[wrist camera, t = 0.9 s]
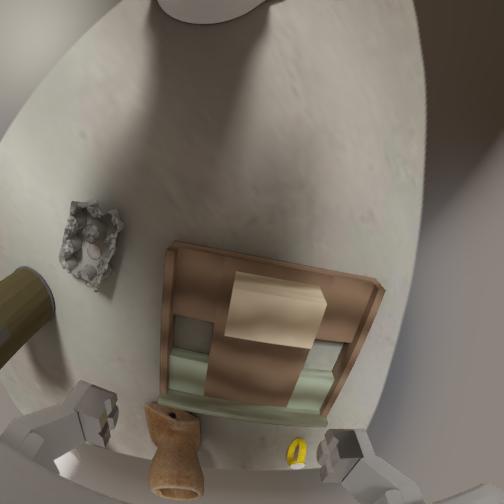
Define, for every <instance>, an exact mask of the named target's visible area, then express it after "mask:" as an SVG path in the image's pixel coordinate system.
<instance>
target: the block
mask: <svg viewBox="0 0 504 504" xmlns="http://www.w3.org/2000/svg"><path fill="white" fill-rule="evenodd" d="M326 306H327V303H326V300H325V298H324V296H323V293H322V291H321V289H320V286H316V285H310V284H304V283H299V282H293V281H287V280H282V279H276V278H271V277H265V276H260V275H254V274H249V273H244V272H238V271H236V274H235V279H234V285H233V290H232V296H231V301H230V306H229V312H228V317H227V323H226V329H225V335H224V336H229V337H234V338H240V339H246V340H252V341H258V342H265V343H271V344H278V345H285V346H292V347H300V348H308V349H311V348H312V346H313V343H314V340H315V337H316V335H317V332H318V329H319V326H320V324H321V321H322V318H323V315H324V312H325V309H326Z"/></svg>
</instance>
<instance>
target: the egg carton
mask: <svg viewBox="0 0 504 504" xmlns="http://www.w3.org/2000/svg"><path fill="white" fill-rule="evenodd" d="M85 207H86V208H87V211H88V212H89V213H91V215H92V217H93V218H95V219H97V218H100V217H102V216H105V215H106V214H111V215H112V219H111V221H112V223H113V225H114V226H117V231H115V232H114V233H112V234H110V235H109V236H108V237H107V238H106V239H105V240H104V244H106V245H107V247H108V249H109V251H111V253H110V254H109V255H108V256H107V257H105V258H103V259H102V260H101V261H100V264H99V265H98V266H97V267H98V271H99V273H98V275H97V272H96V269H95V268H94V267H93V266H92V265H86V266H84V267H83V268H81V267H79V266H78V261H77V259H76V258H75V257H74V256H73V253H74V252H76V251H77V250H79V249H80V248H81V246H82V242H81V239H80V237H79V236H78V235H77V230H79V229H81V228H83V227H84V226H85V225H86V216H85V214H84V213H83V212H82V208H85ZM123 226H124V223H123V222H122V221H121V219H120V217H119V211H118V210H115V209H111V210H109V211H107V212H105V213H102V211H101V210H99V208H98V202H97V201H95V200H90V201H87V202H75V201H72V202H71V208H70V216H69V219H68V223H67V225H66V227H65V233H64V237H63V244H62V247H61V251H60V254H59V261H60V263H61V265H62V267H63V269H65V270H66V271H67V272H68V273H72V274H74V275H75V276H76V278H83V279H85V280H87V282H88V283H87V285H88V286H90V287H91V288H94V289H95V292H98V291H97V290H98V289H99V287H98V286H99V284H100V281H101V280H105V279H107V278H108V277H109V275H110V274H111V272H112V268H111V267H110V265H109V264H108V263H109V260H110V259H111V257H112V256H114V255H115V254H116V251H117V245H116V244H115V243H116V238H117V235H118V232H120V231H122V229H123ZM106 230H107V229H106V225H105V224H104V223H103V222H102V221H95V222H93V223H91V224H88V225H87V226H86V227H85V228H84V230H83V232H82V235H83V236H84V238H85V240H86V241H87V242H89V244H90V245H89V247H88V249H87V251H88V254H89V256H90V257H91V258H92V259H98V258H100V256H101V250H100V247H99V246H98V245H97V244H94V243H95V242H96V241H97V240H99V239H100V238H102V237H103V236H104V235H105V234H106Z"/></svg>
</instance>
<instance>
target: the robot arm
mask: <svg viewBox="0 0 504 504" xmlns="http://www.w3.org/2000/svg"><path fill="white" fill-rule="evenodd" d="M157 1H158V3H159V5H160V7H161V8H162V9H163V10H164V11H165V12H166V13H167V14H168V15H170V16H171V17H173V18H175V19H178V20H180V21H184V22H188V23H194V24H212V23H219V22H224V21H228V20H231V19H234V18H237V17H240V16H242V15H244V14H246V13H248V12H249V11H251V10H253V9H254V8H255V7H257V6H258V5H259V4H261V3H262V2H264V1H266V0H157ZM117 400H118V399H117V394H116V393H114V392H112V391H109V390H106V389H103V388H101V387H98V386H96V385H93V384H90V383H88V382H85V381H83V380H81V381H79V382H78V383H77V385H76V386H75V387H74V389H73V390H72V392H71V393H70V394H69V396H68V397H67V398H66V400H65V401H64V403H63V404H62V405H61V404H56V405H54V406H51V407H48V408H45V409H42V410H39V411H37V412H34V413H31V414H28V415H25V416H22V417H19V418H15V419H13V420H12V421H11V423H10V424H9V425H8V426H7V428H6V429H5V430H4V432H3V433H2V434H1V436H0V504H131V503H128V502H125V501H122V500H119V499H116V498H113V497H110V496H107V495H105V494H102V493H100V492H97V491H94V490H92V489H90V488H87V487H85V486H82V485H80V484H78V483H76V482H73V481H71V480H69V479H67V478H65V477H63V476H61V475H60V472H59V470H58V468H57V466H56V464H55V462H54V460H55V459H57V458H59V457H60V456H62V455H64V454H66V453H68V452H69V451H71V450H73V449H74V448H76V447H78V446H80V445H81V444H83V443H85V441H87V442H89V443H92V444H95V445H98V446H100V447H103V448H105V447H106V445H107V443H108V441H109V439H110V437H111V436H110V430H112V429H114V428H115V426H116V424H117V420H118V415H119V409H118V406H117V405H116V402H117ZM317 462H318V463H319V464H320V465H321V466H322V467H321V469H320V470H319V471H320V477H321V481H322V483H339V482H342V483H341V484H342V485H343V486H344V487H345V488H346V489H347V490H348V492H349V493H350V494H351V495H352V496H353V497H354V498H355V499H356V500H357V501H358V502H359V503H360V504H425V503H424V501H423V498H422V496H421V494H420V491H419V489H418V487H417V484H416V483H414V482H413V481H411V480H409V479H408V478H407V477H406V476H404V475H403V474H401V473H400V472H399V471H397V470H396V469H395V468H393V467H392V466H390V465H389V464H388V463H387V462H385V461H384V460H383V459H381V458H380V457H376V456H375V453H374V451H373V448H372V446H371V443H370V441H369V439H368V436H367V433H366V431H365V430H364V429H329V430H328V431H327V432H326V434H325V439H324V440H323V441H321V442H320V444H319V446H318V449H317ZM431 504H504V491H502V490H500V489H499V488H497V487H495V486H493V485H491V484H488V483H483V484H480V485H478V486H475V487H473V488H471V489H468V490H466V491H464V492H461V493H459V494H456V495H453V496H451V497H448V498H446V499H442V500H439V501H437V502H434V503H431Z"/></svg>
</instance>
